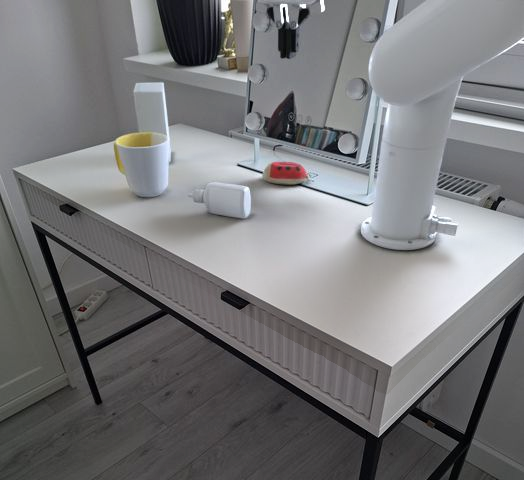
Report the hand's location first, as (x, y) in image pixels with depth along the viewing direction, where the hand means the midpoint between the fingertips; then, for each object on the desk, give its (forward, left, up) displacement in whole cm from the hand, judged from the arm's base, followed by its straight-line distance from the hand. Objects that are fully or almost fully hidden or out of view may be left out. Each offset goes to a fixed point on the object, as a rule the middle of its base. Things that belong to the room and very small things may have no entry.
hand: (288, 57), depth 81 cm
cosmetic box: (+38, -16, -25) cm, 48 cm away
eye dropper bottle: (+5, +7, -22) cm, 24 cm away
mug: (+30, +2, -25) cm, 39 cm away
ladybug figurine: (+5, -13, -25) cm, 29 cm away
